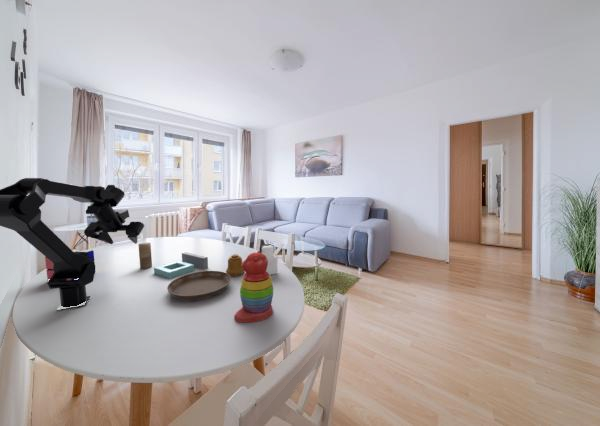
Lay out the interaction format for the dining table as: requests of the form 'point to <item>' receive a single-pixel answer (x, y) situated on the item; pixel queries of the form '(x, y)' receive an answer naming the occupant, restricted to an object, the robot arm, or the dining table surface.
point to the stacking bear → (255, 290)
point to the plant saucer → (199, 285)
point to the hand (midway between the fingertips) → (124, 243)
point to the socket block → (173, 269)
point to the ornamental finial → (234, 266)
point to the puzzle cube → (50, 264)
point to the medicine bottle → (269, 258)
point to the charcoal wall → (195, 260)
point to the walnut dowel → (145, 255)
